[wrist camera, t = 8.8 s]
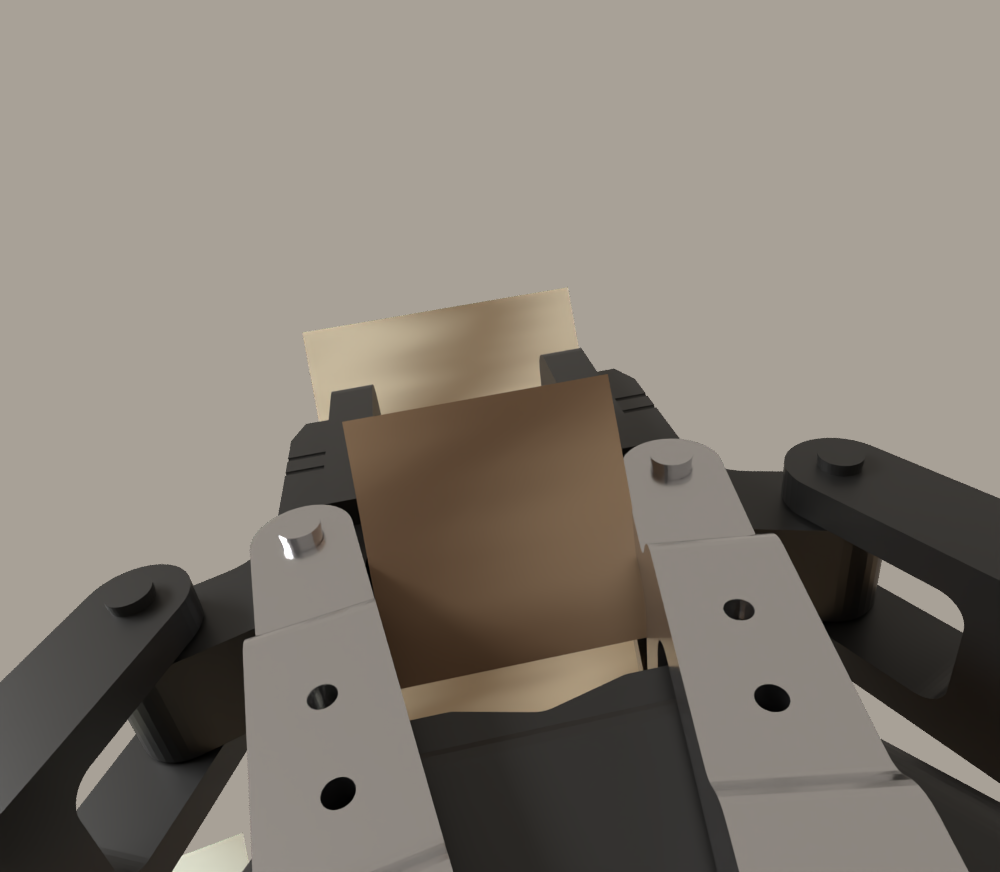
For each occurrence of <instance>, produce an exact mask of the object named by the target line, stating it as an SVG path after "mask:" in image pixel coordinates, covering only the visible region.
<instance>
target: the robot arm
mask: <svg viewBox="0 0 1000 872" xmlns="http://www.w3.org/2000/svg"><path fill="white" fill-rule="evenodd" d="M539 368H540V378H541V386H544V385H549V384H555V383H560V382H566V381H571V380H577V379H583V378H588V377H594V376H599V375H605V374H608V378H609V383H610V389H611V394H612V400H613V405H614V410H615V416H616V421H617V427H618V432H619V438H620V443H621V449H622V454H623V459H624V465H625V470H626V476H627V481H628V487H629V492H630V498H631V503H632V508H633V509H631V510H632V520H633V531H634V541H635V551H636V558H637V563H638V567H639V571H640V576H641V580H642V586H643V592H644V599H645V609H646V629H647V638H642V639H637V640H633V642H634V647H635V652H636V657H637V663H638V668H639V671H638V672H634V673H629V674H625V675H623V676H620V677H618V678H616V679H614V680H612V681H610V682H608V683H605V684H603V685H601V686H599V687H597V688H595V689H592V690H590V691H588V692H586V693H584V694H582V695H580V696H577V697H575V698H573V699H571V700H569V701H567V702H565V703H562V704H560V705H558V706H556V707H554V708H551V709H549V710H546V711H541V712H447V713H442V714H437V715H433V716H428V717H423V718H419V719H414V720H409V717H408V713H407V710H406V706H405V703H404V699H403V696H402V692H401V689H400V685H399V682H398V678H397V675H396V671H395V668H394V664H393V661H392V657H391V654H390V650H389V647H388V643H387V640H386V636H385V633H384V629H383V626H382V622H381V619H380V615H379V612H378V608H377V605H376V601H375V596H374V591H373V585H372V580H371V574H370V569H369V564H368V558H367V553H366V548H365V542H364V537H363V531H362V526H361V521H360V515H359V510H358V505H357V499H356V494H355V488H354V483H353V478H352V472H351V467H350V462H349V456H348V451H347V445H346V440H345V435H344V429H343V424H342V422H345V421H350V420H356V419H361V418H367V417H372V416H378V415H381V412H380V407H379V403H378V399H377V395H376V391H375V388H374V385H373V384H372V385H367V386H361V387H356V388H350V389H344V390H339V391H333V392H331V399H330V410H329V420H326V421H320V422H315V423H310V424H306V425H305V426H304V427H303V428H302V429H301V431H300V432H299V433H298V434H297V435H296V436H295V438H294V439H293V440H292V441H291V446H290V452H289V457H288V459H289V462H288V463H287V469H286V476H285V480H284V486H283V492H282V497H281V502H280V508H279V514H278V516H277V517H275V518H273V519H272V520H270V521H269V522H267V523H266V524H265V525H264V526H263V527H261V528H260V530H259V531H258V532H257V533H256V534H255V536H254V537H253V539H252V542H251V545H250V560H249V561H247V562H246V563H244V564H243V565H241V566H239V567H237V568H235V569H233V570H231V571H228V572H226V573H224V574H221V575H219V576H216V577H214V578H212V579H209V580H206V581H204V582H201V583H199V584H196V585H194V586H193V584H192V582H191V580H190V577H189V575H188V574H187V573H186V571H184V570H183V569H181V568H179V567H177V566H173V565H164V564H162V565H161V564H159V565H150V566H145V567H141V568H137V569H134V570H131V571H128V572H126V573H123V574H121V575H119V576H117V577H115V578H113V579H111V580H110V581H108V582H106V583H105V584H103V585H102V586H100V587H99V588H98V589H96V590H95V591H94V592H93V593H92V594H91V595H89V596H88V597H87V598H86V599H85V600H84V601H83V602H82V603H81V604H80V605H79V606H78V607H77V608H76V609H75V610H74V611H73V612H72V613H71V614H70V615H69V616H68V617H67V618H66V619H65V620H64V621H63V622H62V623H61V624H60V625H59V626H58V627H56V628H55V629H54V630H53V631H52V632H51V633H50V634H49V635H48V636H47V637H46V638H45V639H44V640H43V641H42V642H41V643H40V644H39V645H38V646H37V647H36V648H35V649H34V650H33V651H32V652H31V653H30V654H29V655H28V656H27V657H26V658H25V659H24V660H23V661H22V662H21V663H20V664H19V665H18V666H17V667H16V668H14V670H13V671H11V673H9V674H8V675H7V676H6V677H5V678H4V679H3V680H2V681H1V682H0V872H172V871H173V869H174V868H175V866H176V865H177V863H178V861H179V860H180V858H181V856H182V855H183V853H184V851H185V850H186V848H187V847H188V845H189V843H190V842H191V840H192V839H193V837H194V835H195V834H196V832H197V830H198V829H199V827H200V825H201V824H202V822H203V821H204V819H205V817H206V816H207V814H208V812H209V811H210V809H211V808H212V806H213V805H214V803H215V801H216V800H217V798H218V796H219V795H220V793H221V792H222V790H223V788H224V787H225V785H226V783H227V782H228V780H229V778H230V777H231V775H232V774H233V772H234V771H235V769H236V767H237V766H238V764H239V762H240V760H241V759H242V757H243V756H244V754H245V753H246V751H247V760H248V781H249V782H248V783H249V804H250V805H249V806H250V828H251V851H252V859H251V861H250V862H249V863H248V864H247V866H246V867H245V868H244V870H243V871H242V872H1000V802H998V801H996V800H994V799H992V798H991V797H989V796H987V795H985V794H983V793H981V792H979V791H977V790H976V789H974V788H972V787H970V786H968V785H966V784H964V783H962V782H961V781H959V780H957V779H955V778H953V777H951V776H949V775H947V774H946V773H944V772H941V771H940V770H938V769H936V768H934V767H933V766H930V765H929V764H927V763H925V762H923V761H921V760H919V759H918V758H916V757H914V756H912V755H910V754H908V753H906V752H904V751H903V750H901V749H899V748H897V747H895V746H893V745H891V744H889V743H887V742H886V741H883V740H882V739H880V737H879V735H878V733H877V731H876V729H875V727H874V725H873V723H872V721H871V719H870V717H869V715H868V713H867V711H866V709H865V707H864V705H863V703H862V701H861V699H860V697H859V695H858V693H857V691H856V689H855V687H854V685H853V683H852V682H854V683H855V684H857V685H858V686H859V687H861V688H862V689H864V690H865V691H867V692H868V693H870V694H871V695H873V696H874V697H876V698H877V699H878V700H880V701H882V702H883V703H884V704H886V705H887V706H888V707H890V708H891V709H893V710H894V711H896V712H897V713H899V714H900V715H902V716H903V717H905V718H906V719H907V720H909V721H910V722H912V723H913V724H915V725H916V726H918V727H919V728H920V729H922V730H923V731H925V732H926V733H928V734H929V735H931V736H932V737H933V738H935V739H936V740H938V741H939V742H941V743H942V744H944V745H945V746H947V747H948V748H950V749H951V750H952V751H954V752H955V753H957V754H958V755H960V756H961V757H963V758H964V759H966V760H967V761H968V762H970V763H971V764H973V765H974V766H976V767H977V768H979V769H980V770H981V771H983V772H984V773H986V774H987V775H989V776H990V777H992V778H993V779H994V780H996V781H997V782H999V783H1000V499H999V498H997V497H995V496H992V495H990V494H987V493H984V492H982V491H980V490H978V489H975V488H973V487H970V486H968V485H966V484H963V483H961V482H958V481H956V480H953V479H951V478H948V477H946V476H944V475H941V474H939V473H936V472H934V471H932V470H929V469H926V468H924V467H922V466H919V465H917V464H915V463H912V462H910V461H907V460H905V459H902V458H900V457H897V456H895V455H893V454H890V453H888V452H885V451H883V450H880V449H878V448H876V447H873V446H871V445H868V444H865V443H862V442H858V441H854V440H848V439H840V438H821V439H814V440H809V441H806V442H802V443H800V444H798V445H796V446H794V447H793V448H791V449H790V450H789V451H788V452H787V454H786V456H785V461H784V470H783V472H773V471H772V472H770V471H769V472H767V471H766V472H765V471H764V472H763V471H757V472H756V471H753V472H752V471H736V470H728V469H725V467H724V465H723V462H722V460H721V458H720V457H719V455H718V454H717V453H716V452H715V451H713V450H712V449H710V448H709V447H707V446H705V445H703V444H700V443H697V442H693V441H689V440H684V439H679V437H678V436H677V435H676V434H675V432H674V431H673V429H672V428H671V427H670V425H669V424H668V423H667V422H666V420H665V419H664V417H663V416H662V415H661V413H660V412H659V411H658V409H657V408H654V404H653V403H652V401H651V400H650V399H649V397H648V396H646V395H645V392H644V391H643V389H642V388H641V387H640V385H639V384H638V383H637V381H636V380H635V379H634V378H632V377H630V376H628V375H626V374H623V373H622V372H620V371H617V370H615V369H610V370H605V371H599V372H597V371H596V370H595V368H594V367H593V365H592V364H591V362H590V361H589V359H588V357H587V356H586V354H585V353H584V351H583V350H582V349H581V348H577V349H571V350H565V351H560V352H554V353H548V354H543V355H540V358H539ZM882 560H884V561H886V562H887V563H889V564H892V565H893V566H895V567H897V568H899V569H901V570H903V571H904V572H906V573H908V574H910V575H912V576H914V577H916V578H918V579H920V580H922V581H924V582H925V583H927V584H929V585H931V586H933V587H934V588H936V589H938V590H940V591H941V592H943V593H944V594H946V595H947V596H948V597H949V598H950V599H951V600H952V601H953V602H954V603H955V604H956V605H957V607H958V608H959V610H960V612H961V614H962V616H963V620H964V631H963V633H962V632H960V631H959V630H957V629H955V628H953V627H951V626H950V625H948V624H946V623H944V622H942V621H941V620H939V619H937V618H935V617H934V616H932V615H930V614H928V613H927V612H925V611H923V610H921V609H919V608H918V607H916V606H914V605H912V604H910V603H909V602H907V601H905V600H903V599H902V598H900V597H898V596H896V595H894V594H893V593H891V592H889V591H887V590H886V589H884V588H882V587H880V586H879V585H877V583H878V578H879V573H880V567H881V562H882ZM127 720H128V721H129V722H130V724H131V726H132V728H133V729H134V731H135V733H136V735H135V736H134V737H133V739H132V740H131V741H130V742H129V744H128V745H127V746H126V748H125V749H124V750H123V751H122V753H121V754H120V755H119V757H118V758H117V759H116V761H115V762H114V763H113V765H112V766H111V767H110V768H109V770H108V771H107V772H106V774H105V775H104V776H103V777H102V779H101V780H100V781H99V782H98V784H97V785H96V786H95V788H94V789H93V790H92V791H91V793H90V794H89V795H88V797H87V798H86V799H85V801H84V802H83V803H82V804H81V806H80V807H79V808H78V809H77V811H76V796H77V792H78V788H79V785H80V783H81V781H82V778H83V776H84V775H85V773H86V771H87V770H88V768H89V767H90V766H91V764H92V763H93V762H94V761H95V759H96V758H97V757H98V755H99V754H100V753H101V752H102V751H103V749H104V748H105V747H106V746H107V744H108V743H109V742H110V741H111V739H112V738H113V737H114V736H115V735H116V733H117V732H118V731H119V730H120V728H121V727H122V726H123V724H124V723H125V722H126V721H127Z"/></svg>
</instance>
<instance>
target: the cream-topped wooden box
mask: <svg viewBox="0 0 1000 872" xmlns="http://www.w3.org/2000/svg"><path fill="white" fill-rule="evenodd" d="M248 863H249V861H248V857H247V851H246V846H245V842H244V836H243V833H241V834H238V835H236V836H233V837H230V838H228V839H225V840H222V841H220V842H217V843H214V844H212V845H209V846H206V847H204V848H201V849H198V850H196V851H193V852H191V853H188V854H185V855H183V856H181V858H180V860H179V861H178V863H177V865H176V866H175V868H174V869H173V871H172V872H242V871H243V870H244V868H245V867H246V866H247V864H248Z"/></svg>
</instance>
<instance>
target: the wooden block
mask: <svg viewBox="0 0 1000 872" xmlns="http://www.w3.org/2000/svg"><path fill="white" fill-rule="evenodd" d="M638 671H639V668H638V663H637V657H636V652H635V647H634V642H633V640H632V641H628V642H623V643H618V644H613V645H609V646H604V647H599V648H594V649H589V650H585V651H580V652H575V653H570V654H566V655H561V656H556V657H551V658H547V659H542V660H537V661H532V662H527V663H523V664H518V665H513V666H508V667H504V668H499V669H494V670H489V671H485V672H480V673H475V674H470V675H466V676H461V677H456V678H451V679H446V680H442V681H437V682H432V683H427V684H423V685H418V686H413V687H408V688H404V689H401V692H402V696H403V699H404V703H405V706H406V710H407V713H408V717H409V720H414V719H419V718H423V717H428V716H433V715H437V714H442V713H447V712H541V711H546V710H549V709H551V708H554V707H556V706H558V705H560V704H562V703H565V702H567V701H569V700H571V699H573V698H575V697H577V696H580V695H582V694H584V693H586V692H588V691H590V690H592V689H595V688H597V687H599V686H601V685H603V684H605V683H608V682H610V681H612V680H614V679H616V678H618V677H620V676H623V675H625V674H629V673H634V672H638Z"/></svg>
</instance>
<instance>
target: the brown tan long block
mask: <svg viewBox="0 0 1000 872" xmlns="http://www.w3.org/2000/svg"><path fill="white" fill-rule="evenodd" d="M303 338H304V343H305V349H306V354H307V359H308V364H309V370H310V376H311V381H312V386H313V392H314V397H315V402H316V407H317V413H318V419H319V422H320V421H326V420H329V410H330V399H331V392H333V391H339V390H344V389H350V388H356V387H361V386H367V385H372V384H373V385H374V388H375V391H376V395H377V399H378V403H379V407H380V412H381V415H378V416H372V417H367V418H361V419H356V420H350V421H345V422H342V424H343V429H344V435H345V440H346V445H347V451H348V456H349V462H350V467H351V472H352V478H353V483H354V488H355V494H356V499H357V505H358V510H359V515H360V521H361V526H362V531H363V537H364V542H365V548H366V553H367V558H368V564H369V569H370V574H371V580H372V585H373V591H374V596H375V601H376V605H377V608H378V612H379V615H380V619H381V622H382V626H383V629H384V633H385V636H386V640H387V643H388V647H389V650H390V654H391V657H392V661H393V664H394V668H395V671H396V675H397V678H398V682H399V685H400V689H404V688H408V687H413V686H418V685H423V684H427V683H432V682H437V681H442V680H446V679H451V678H456V677H461V676H466V675H470V674H475V673H480V672H485V671H489V670H494V669H499V668H504V667H508V666H513V665H518V664H523V663H527V662H532V661H537V660H542V659H547V658H551V657H556V656H561V655H566V654H570V653H575V652H580V651H585V650H589V649H594V648H599V647H604V646H609V645H613V644H618V643H623V642H628V641H632V640H637V639H642V638H647V629H646V609H645V599H644V592H643V586H642V580H641V576H640V571H639V567H638V563H637V558H636V551H635V541H634V531H633V520H632V510H631V509H633V508H632V503H631V498H630V492H629V487H628V481H627V476H626V470H625V465H624V459H623V454H622V449H621V443H620V438H619V432H618V427H617V421H616V416H615V410H614V405H613V400H612V394H611V389H610V383H609V378H608V374H605V375H599V376H594V377H588V378H583V379H577V380H571V381H566V382H560V383H555V384H549V385H544V386H541V378H540V368H539V358H540V355H543V354H548V353H554V352H560V351H565V350H571V349H577V348H579V345H578V340H577V334H576V330H575V323H574V318H573V313H572V307H571V302H570V296H569V291H568V287H567V288H561V289H555V290H549V291H543V292H538V293H532V294H526V295H520V296H514V297H508V298H502V299H497V300H491V301H485V302H479V303H473V304H468V305H462V306H456V307H450V308H444V309H438V310H432V311H426V312H421V313H414V314H409V315H403V316H397V317H391V318H385V319H380V320H373V321H368V322H362V323H356V324H350V325H344V326H338V327H332V328H327V329H321V330H315V331H309V332H303Z"/></svg>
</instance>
